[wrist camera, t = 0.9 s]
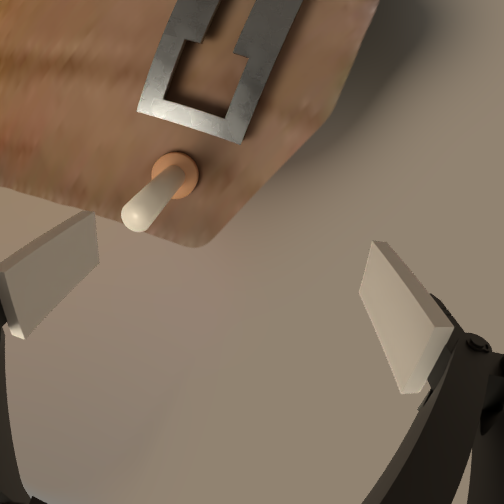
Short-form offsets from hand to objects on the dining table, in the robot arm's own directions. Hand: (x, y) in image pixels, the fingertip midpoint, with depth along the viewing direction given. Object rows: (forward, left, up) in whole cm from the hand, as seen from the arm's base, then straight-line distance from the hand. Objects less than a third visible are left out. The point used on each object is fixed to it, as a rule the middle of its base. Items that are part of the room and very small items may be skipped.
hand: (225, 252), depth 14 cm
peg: (+7, -8, -26) cm, 28 cm away
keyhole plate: (-12, -8, -26) cm, 30 cm away
